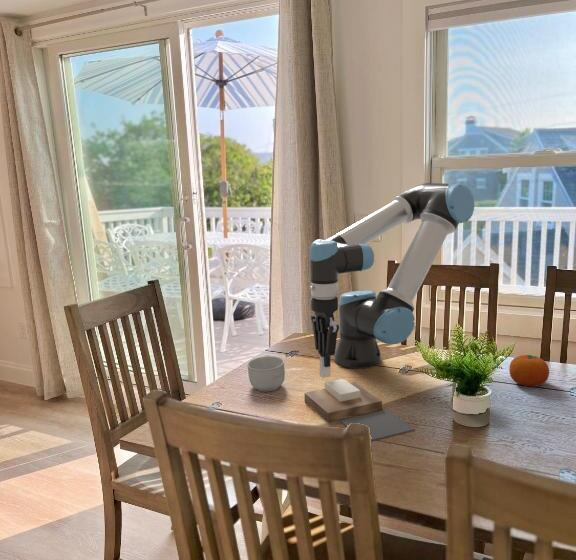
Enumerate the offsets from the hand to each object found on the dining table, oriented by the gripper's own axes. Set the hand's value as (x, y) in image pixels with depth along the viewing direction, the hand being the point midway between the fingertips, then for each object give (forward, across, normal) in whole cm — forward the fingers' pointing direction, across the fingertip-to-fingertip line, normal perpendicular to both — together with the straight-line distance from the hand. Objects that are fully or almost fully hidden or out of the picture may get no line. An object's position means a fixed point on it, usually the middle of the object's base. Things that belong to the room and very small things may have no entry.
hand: (325, 376), depth 160 cm
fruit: (+4, +23, +54) cm, 59 cm away
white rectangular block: (+1, +10, 0) cm, 10 cm away
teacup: (+4, -10, -14) cm, 18 cm away
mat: (+4, +26, +1) cm, 26 cm away
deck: (+4, +12, -1) cm, 13 cm away
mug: (+4, +26, +30) cm, 40 cm away
